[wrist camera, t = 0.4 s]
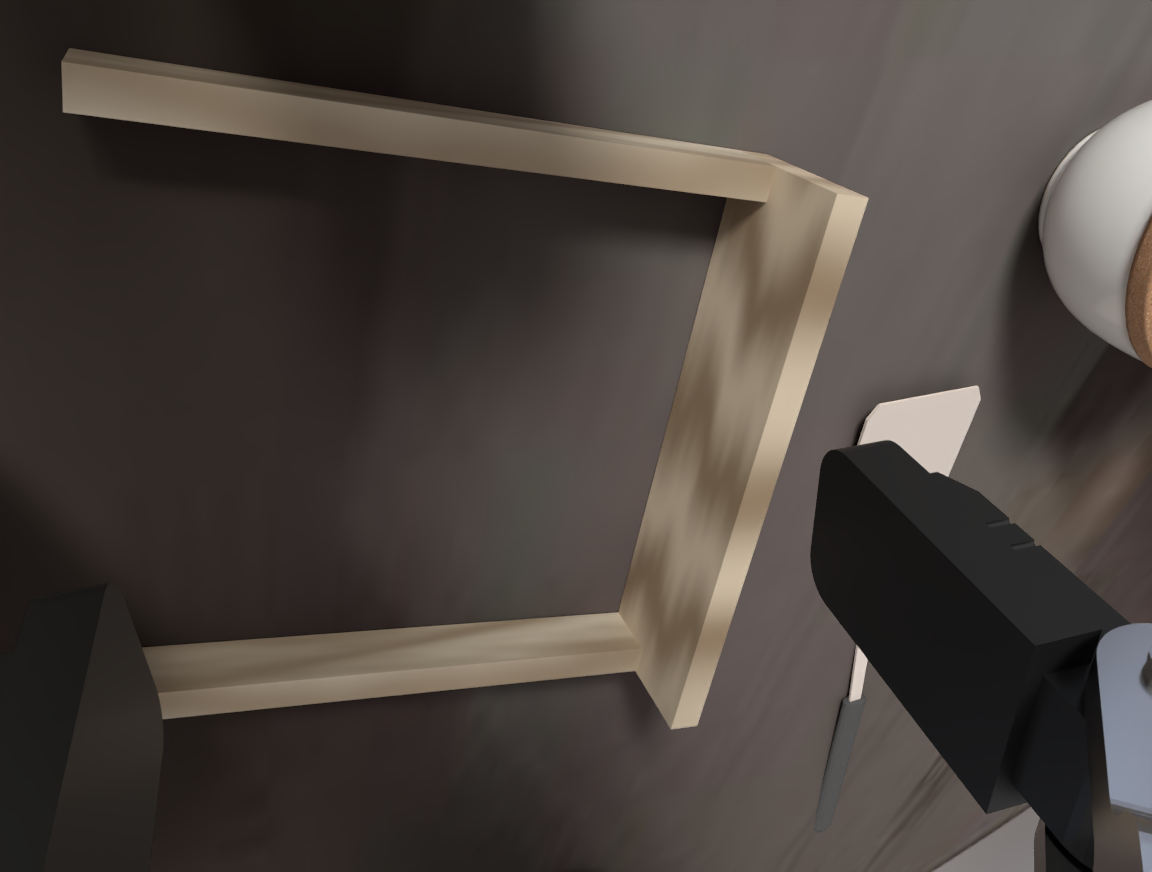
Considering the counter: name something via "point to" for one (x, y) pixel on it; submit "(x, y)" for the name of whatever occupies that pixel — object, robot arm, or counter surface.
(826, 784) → the spatula
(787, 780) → the counter surface
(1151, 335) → the lidded jar
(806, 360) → the wooden frame
